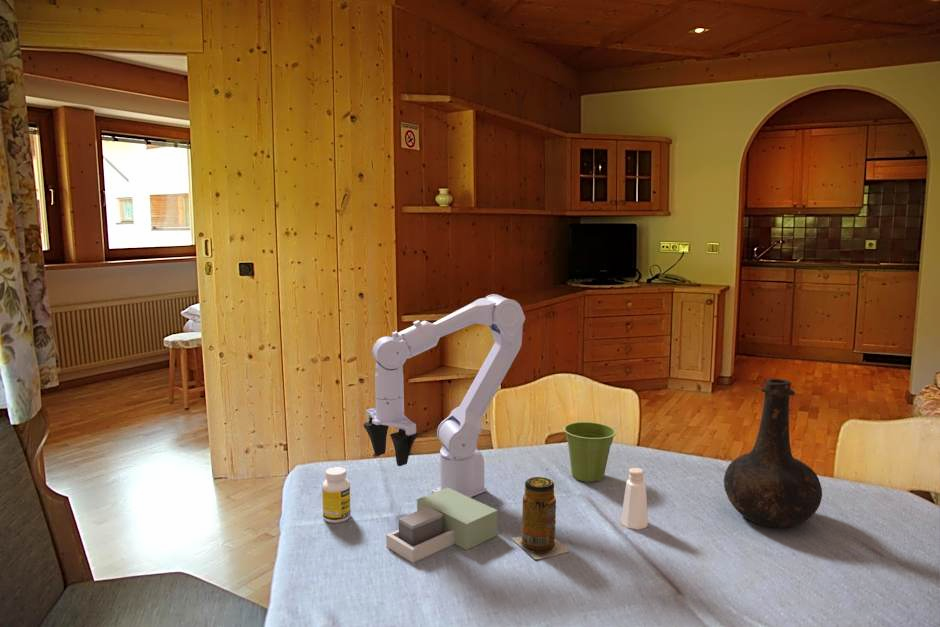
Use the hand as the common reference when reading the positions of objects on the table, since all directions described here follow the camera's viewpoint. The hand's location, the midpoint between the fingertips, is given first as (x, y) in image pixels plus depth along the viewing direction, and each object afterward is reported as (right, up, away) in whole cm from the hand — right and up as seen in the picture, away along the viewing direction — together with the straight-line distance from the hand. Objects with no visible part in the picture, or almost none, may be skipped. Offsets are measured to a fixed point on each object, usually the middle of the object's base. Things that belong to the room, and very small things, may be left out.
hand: (390, 459), depth 138 cm
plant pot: (+44, -7, +15) cm, 47 cm away
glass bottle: (+76, -11, -5) cm, 77 cm away
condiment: (+29, -12, -16) cm, 36 cm away
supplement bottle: (-10, -11, -5) cm, 15 cm away
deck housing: (+10, -12, -13) cm, 21 cm away
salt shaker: (+49, -11, -7) cm, 50 cm away
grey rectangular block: (+7, -12, -16) cm, 21 cm away
